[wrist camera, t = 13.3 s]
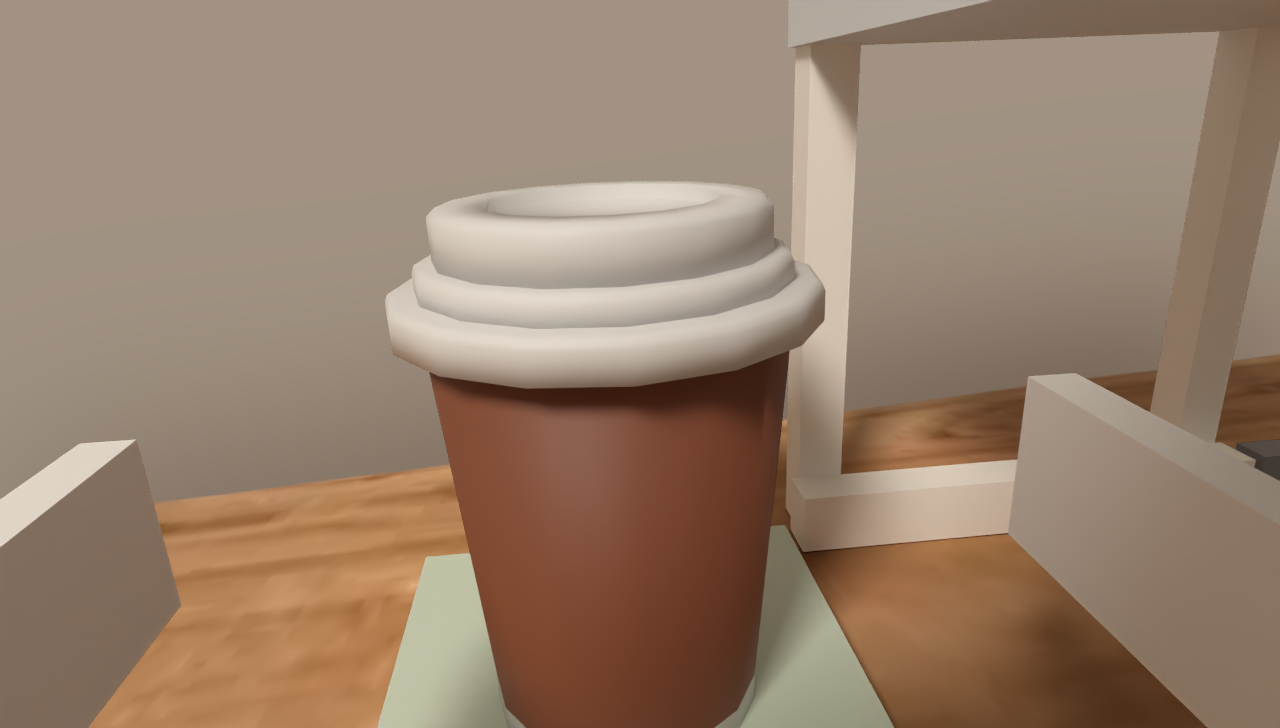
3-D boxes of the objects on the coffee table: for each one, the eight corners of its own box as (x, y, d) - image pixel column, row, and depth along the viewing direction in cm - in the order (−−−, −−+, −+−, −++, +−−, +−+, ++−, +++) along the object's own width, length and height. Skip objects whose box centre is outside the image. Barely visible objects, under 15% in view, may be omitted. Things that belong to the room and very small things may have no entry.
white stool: (1180, 473, 31) (1280, -22, 25) (1828, 859, 15) (2487, -228, 9) (779, 508, 29) (788, -6, 24) (1033, 971, 14) (1240, -214, 8)
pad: (784, 545, 27) (785, 524, 27) (976, 919, 15) (980, 887, 14) (429, 577, 26) (426, 557, 26) (313, 1008, 14) (305, 976, 13)
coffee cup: (602, 542, 26) (579, 172, 22) (868, 645, 21) (899, 181, 17) (365, 711, 19) (271, 217, 15) (672, 927, 14) (647, 257, 10)
